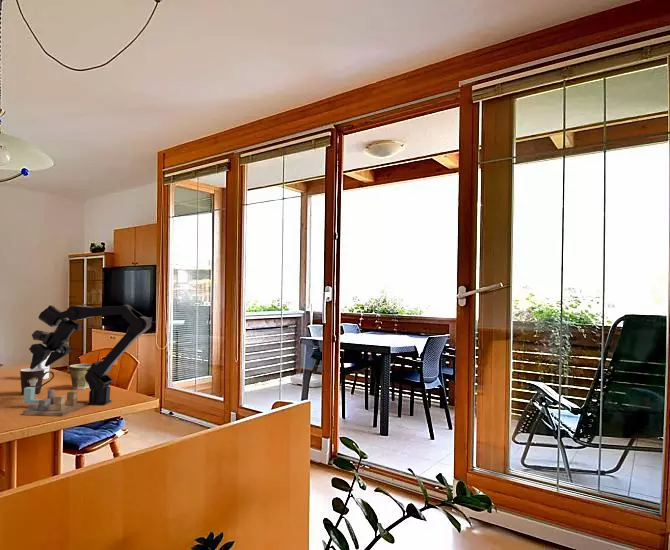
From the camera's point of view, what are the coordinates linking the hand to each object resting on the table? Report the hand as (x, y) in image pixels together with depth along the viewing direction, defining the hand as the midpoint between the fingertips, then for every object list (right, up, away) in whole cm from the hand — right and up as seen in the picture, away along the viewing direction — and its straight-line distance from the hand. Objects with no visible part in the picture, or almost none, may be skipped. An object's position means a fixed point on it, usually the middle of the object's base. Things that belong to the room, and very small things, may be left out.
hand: (38, 367), depth 183 cm
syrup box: (-27, -14, +43) cm, 53 cm away
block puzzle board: (+13, -13, -12) cm, 22 cm away
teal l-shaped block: (+3, -12, -8) cm, 14 cm away
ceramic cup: (+1, -15, +28) cm, 32 cm away
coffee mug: (-10, -14, +13) cm, 21 cm away
